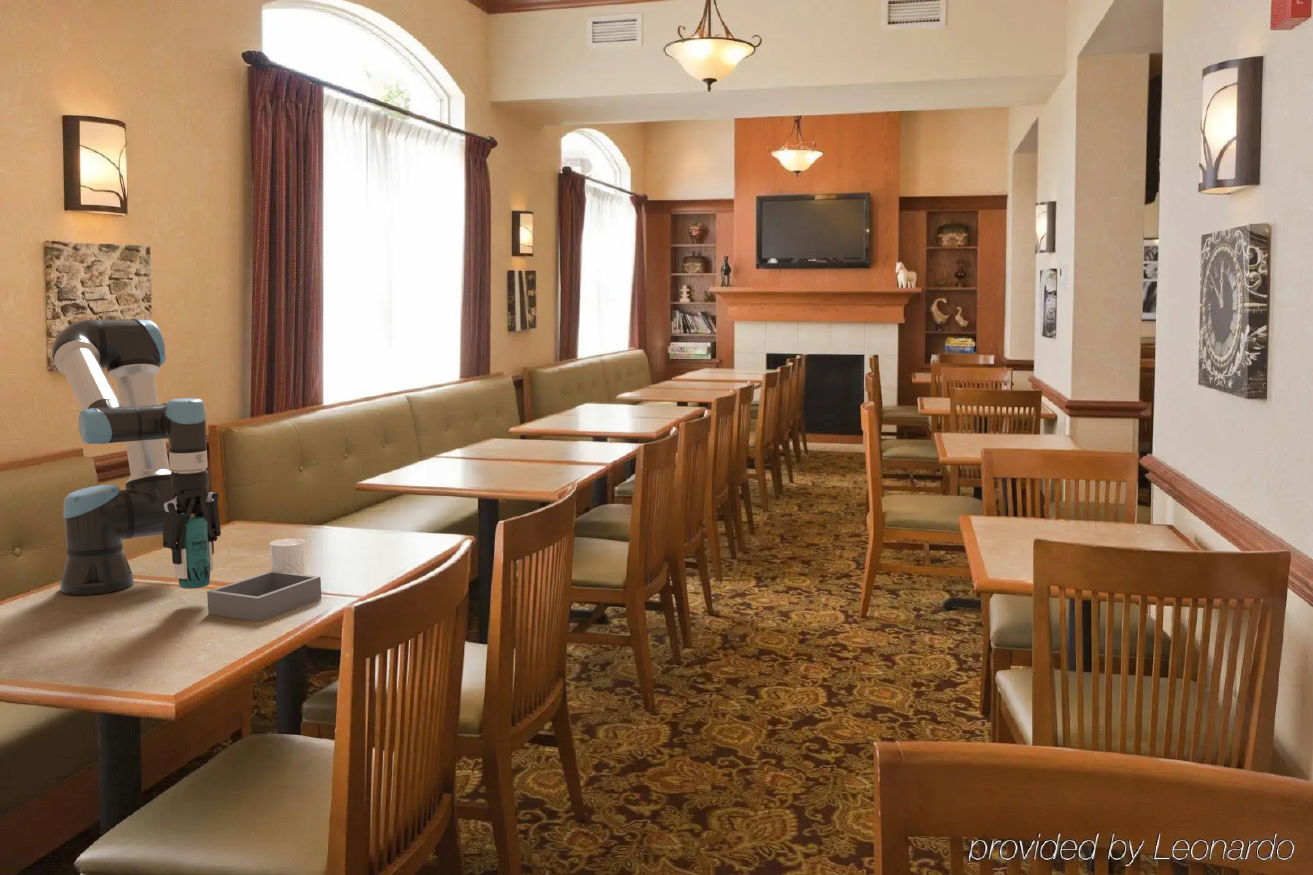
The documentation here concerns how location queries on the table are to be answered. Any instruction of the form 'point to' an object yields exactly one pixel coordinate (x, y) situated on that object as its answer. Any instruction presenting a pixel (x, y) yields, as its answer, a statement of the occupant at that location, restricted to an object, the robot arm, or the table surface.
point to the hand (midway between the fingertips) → (194, 573)
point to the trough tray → (264, 595)
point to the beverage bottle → (196, 552)
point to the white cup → (288, 555)
